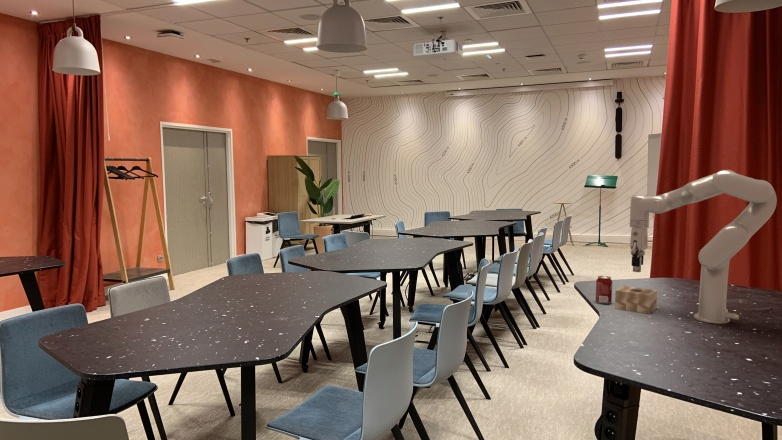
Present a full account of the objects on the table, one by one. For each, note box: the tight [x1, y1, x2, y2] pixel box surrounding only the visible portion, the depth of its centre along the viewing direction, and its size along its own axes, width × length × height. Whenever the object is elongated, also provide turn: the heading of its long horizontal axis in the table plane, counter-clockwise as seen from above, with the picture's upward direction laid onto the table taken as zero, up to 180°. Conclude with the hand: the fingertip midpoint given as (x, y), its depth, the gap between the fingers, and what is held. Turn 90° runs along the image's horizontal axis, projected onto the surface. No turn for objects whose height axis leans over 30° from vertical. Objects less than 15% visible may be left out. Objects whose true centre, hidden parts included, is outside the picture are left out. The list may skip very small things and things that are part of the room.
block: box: [614, 285, 658, 315], centre depth 237 cm, size 14×12×8 cm
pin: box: [630, 249, 646, 273], centre depth 235 cm, size 6×6×9 cm
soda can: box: [595, 275, 613, 305], centre depth 247 cm, size 7×7×12 cm
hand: (637, 265), depth 236 cm, fingers closed on pin, 4 cm apart
